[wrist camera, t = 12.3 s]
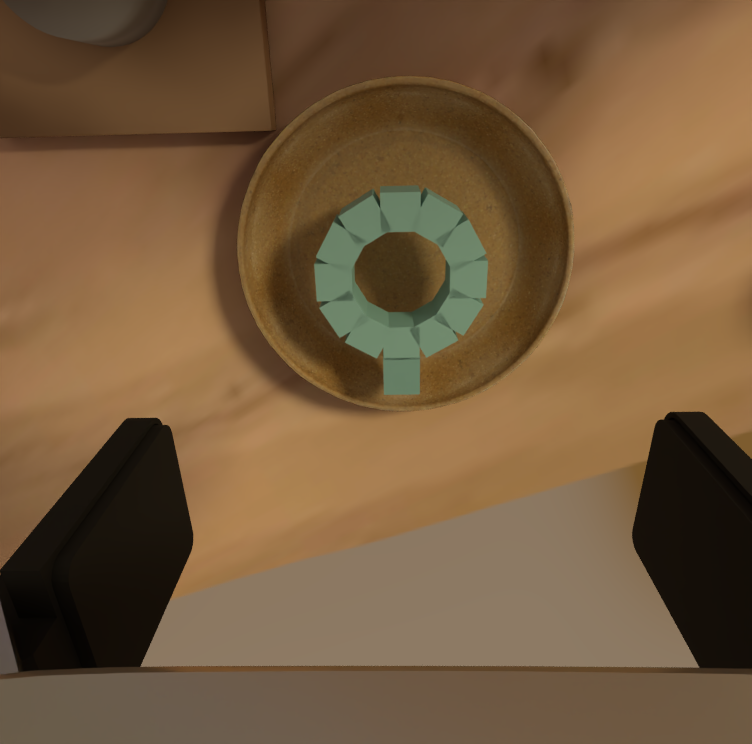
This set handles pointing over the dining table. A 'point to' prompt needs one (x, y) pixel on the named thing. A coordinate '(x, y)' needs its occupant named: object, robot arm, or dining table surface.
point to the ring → (401, 329)
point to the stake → (134, 67)
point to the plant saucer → (407, 233)
